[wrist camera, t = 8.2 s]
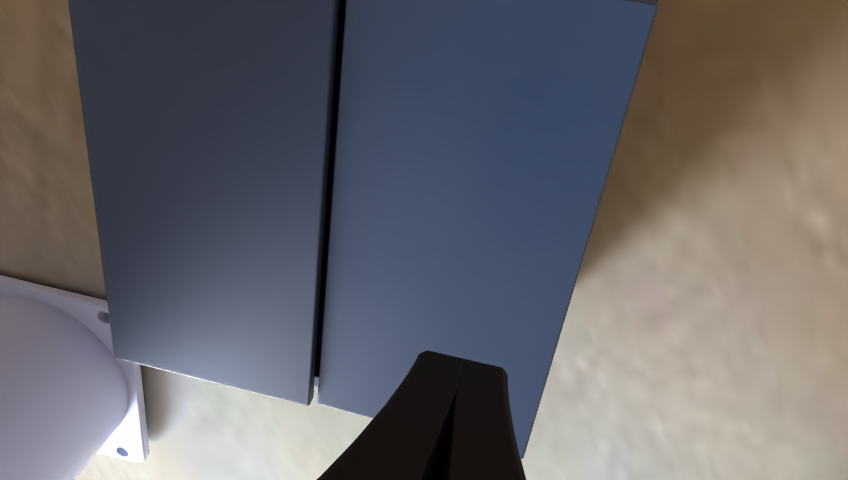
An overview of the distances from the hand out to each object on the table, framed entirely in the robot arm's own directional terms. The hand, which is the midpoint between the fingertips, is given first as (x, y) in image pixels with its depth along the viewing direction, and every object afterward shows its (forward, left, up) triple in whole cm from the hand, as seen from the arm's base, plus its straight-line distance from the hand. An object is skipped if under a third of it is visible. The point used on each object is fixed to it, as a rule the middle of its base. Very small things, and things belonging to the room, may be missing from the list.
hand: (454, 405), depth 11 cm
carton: (-4, 0, -10) cm, 11 cm away
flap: (-1, +1, -4) cm, 4 cm away
